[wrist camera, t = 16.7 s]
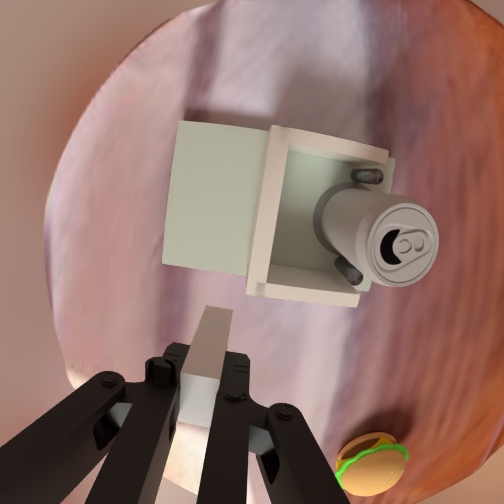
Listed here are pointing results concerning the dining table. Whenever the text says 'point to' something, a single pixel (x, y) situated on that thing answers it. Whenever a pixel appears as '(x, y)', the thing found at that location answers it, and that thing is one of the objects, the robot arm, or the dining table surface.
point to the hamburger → (370, 464)
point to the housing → (258, 268)
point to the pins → (342, 263)
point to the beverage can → (382, 235)
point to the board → (250, 201)
